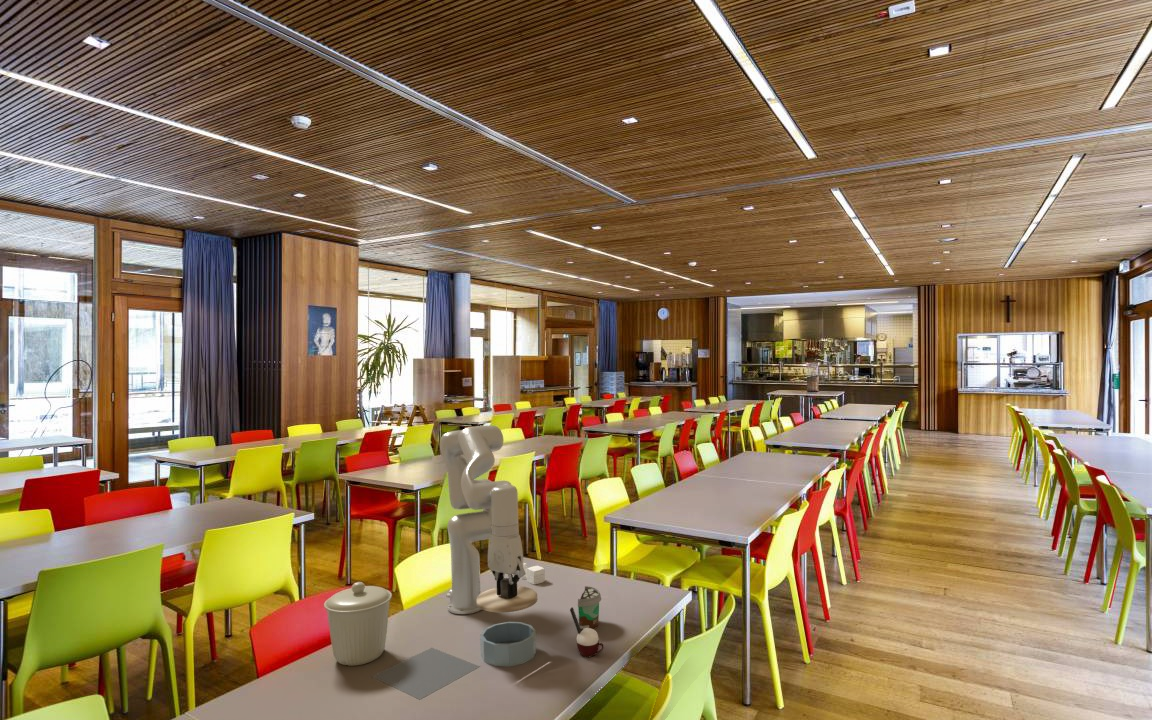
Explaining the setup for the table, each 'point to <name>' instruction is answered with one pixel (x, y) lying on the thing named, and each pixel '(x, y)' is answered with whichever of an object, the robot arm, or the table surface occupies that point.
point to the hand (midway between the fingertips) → (507, 594)
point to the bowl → (508, 644)
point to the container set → (534, 574)
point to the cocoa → (586, 639)
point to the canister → (358, 623)
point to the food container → (589, 608)
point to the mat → (425, 672)
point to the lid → (506, 599)
